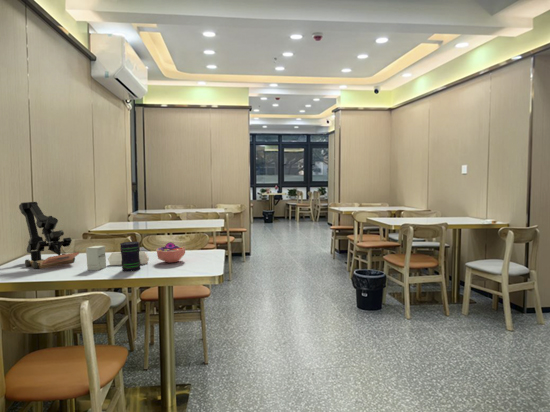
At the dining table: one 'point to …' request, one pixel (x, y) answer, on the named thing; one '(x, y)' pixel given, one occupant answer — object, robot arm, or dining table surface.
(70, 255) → the panel
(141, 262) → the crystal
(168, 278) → the dining table surface
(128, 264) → the storage jar
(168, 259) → the cell model
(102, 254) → the supplement box
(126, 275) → the dining table surface
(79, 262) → the dining table surface
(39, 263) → the cart bed
